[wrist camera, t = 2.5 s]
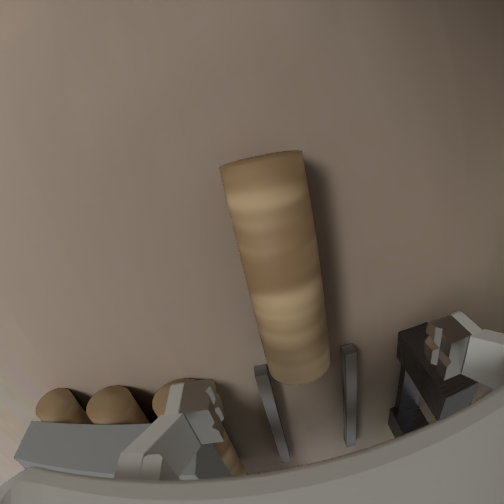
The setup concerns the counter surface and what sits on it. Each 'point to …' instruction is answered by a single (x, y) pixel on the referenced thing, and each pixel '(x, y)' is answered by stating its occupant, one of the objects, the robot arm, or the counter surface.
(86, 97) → the counter surface
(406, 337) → the posts
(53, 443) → the slab
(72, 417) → the roller bed
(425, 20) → the counter surface
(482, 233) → the counter surface
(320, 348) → the roller
